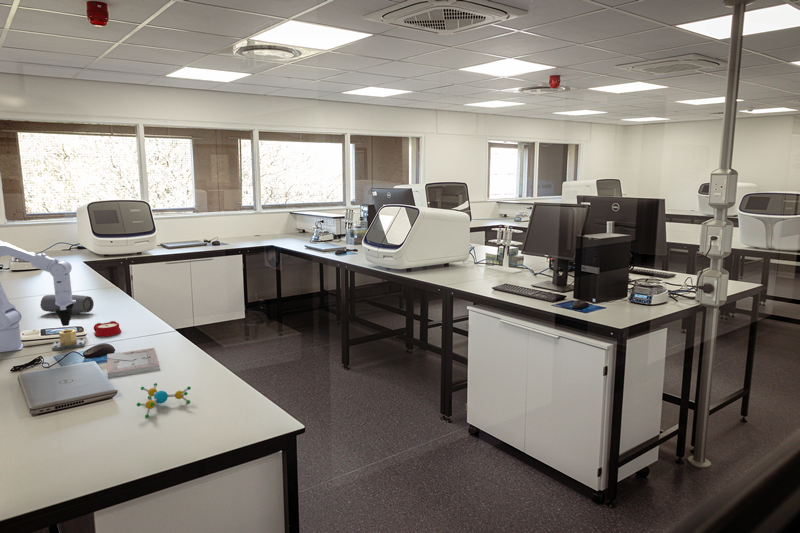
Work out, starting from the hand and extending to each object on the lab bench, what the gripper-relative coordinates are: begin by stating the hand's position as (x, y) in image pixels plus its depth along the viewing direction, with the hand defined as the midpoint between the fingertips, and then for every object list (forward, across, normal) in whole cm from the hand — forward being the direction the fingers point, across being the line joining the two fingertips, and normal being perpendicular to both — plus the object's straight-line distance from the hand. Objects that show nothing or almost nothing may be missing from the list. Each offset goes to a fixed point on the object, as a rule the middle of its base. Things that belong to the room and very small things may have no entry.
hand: (66, 323), depth 211 cm
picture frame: (+10, -35, -23) cm, 43 cm away
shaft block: (+10, 0, 0) cm, 10 cm away
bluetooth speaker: (+10, +60, +4) cm, 60 cm away
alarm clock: (+10, +14, -14) cm, 22 cm away
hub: (+8, 0, 0) cm, 8 cm away
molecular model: (+10, -78, -29) cm, 84 cm away
